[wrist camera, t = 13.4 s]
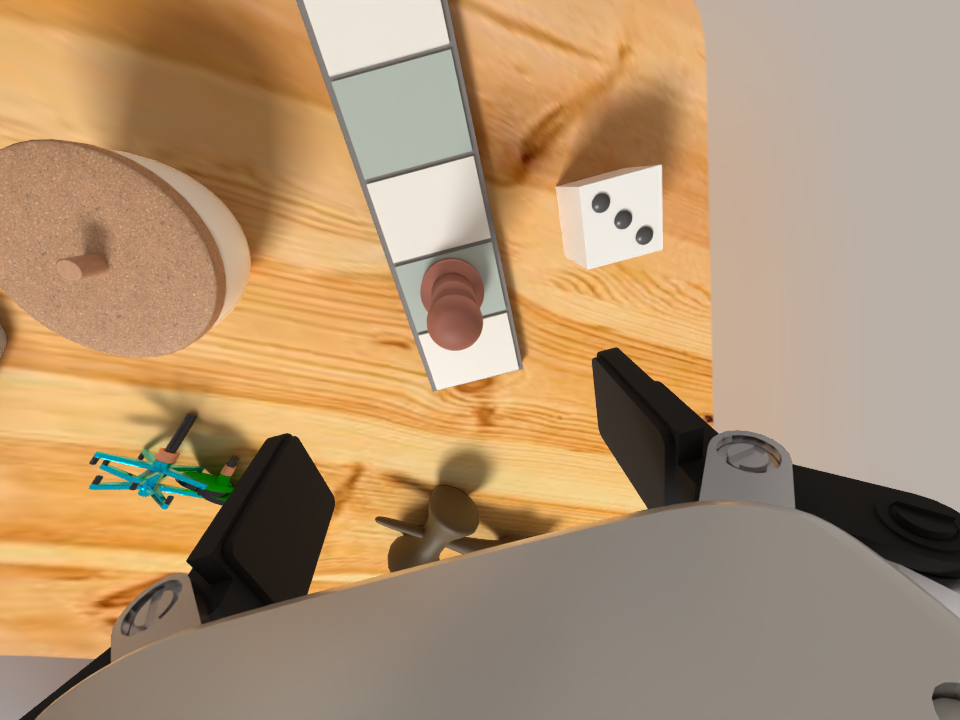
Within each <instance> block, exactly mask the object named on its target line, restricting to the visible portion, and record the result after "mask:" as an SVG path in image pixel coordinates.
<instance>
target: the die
mask: <svg viewBox="0 0 960 720" xmlns="http://www.w3.org/2000/svg"><path fill="white" fill-rule="evenodd" d="M556 193H557V201H558V208H559V216H560V224H561V231H562V239H563V246H564V254H565V257H567V258H569V259H570V260H572V261H574V262H576V263H577V264H579V265H581V266H582V267H584V268H586V269H587V270H588V269H592V268H596V267H599V266H603V265H607V264H611V263H614V262H618V261H622V260H626V259H629V258H633V257H637V256H641V255H644V254H648V253H652V252H656V251H659V250H663V231H662V164H661V165H650V166H640V167H629V168H622V169H618V170H615V171H611V172H607V173H604V174H600V175H596V176H593V177H589V178H585V179H582V180H578V181H574V182H571V183H567V184H563V185H560V186H556Z"/></svg>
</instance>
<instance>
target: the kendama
mask: <svg viewBox="0 0 960 720" xmlns="http://www.w3.org/2000/svg"><path fill="white" fill-rule="evenodd" d="M375 520H376V522H377V523H379V524H381V525H383V526H386V527H389V528H391V529H394V530H397V531H400V532H403V533H406V534H407V535H404V536H400V537H398V538H397V539H396V540H395V541H394V542H393V543H392V545H391V546H390V550H389V553H388V568H389V570H390V573H393V572H396V571H400V570H404V569H408V568H412V567H416V566H420V565H424V564H428V563H431V562H435V561H439V555H440V553H441V551H442V550H443V549H444V548H445V547H446V548H449V549H452V550H454V551H456V552H459V553H461V554H467V553H471V552H474V551H478V550H482V549H486V548H490V547H494V546H498V545H502V544H506V543H510V542H514V541H516V539H515V538H513V537H512V536H507V537H505V538H504V539H502V540H485V539H477V538H470V537H466V536H468V535H471V534H473V533H474V532H475V530H476V529H477V527H478V525H479V514H478V511H477V508H476V505H475V504H474V502H473V501H472V499H471V498H470V497H469V496H468V495H467V494H465V493H464V492H463V491H461V490H459V489H457V488H455V487H451V486H447V485H442V486H437V487H436V488H435V489H434V490H433V491H432V492H431V495H430V500H429V517H428V520H427V522H426V523H425V525H424V526H423V527H421V526H417V525H414V524H410V523H406V522H403V521H399V520H395V519H391V518H387V517H376V519H375Z"/></svg>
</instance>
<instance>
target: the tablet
mask: <svg viewBox="0 0 960 720" xmlns="http://www.w3.org/2000/svg"><path fill="white" fill-rule="evenodd" d="M6 344H7V339H6V334H5V331H4V329H3V328H2V326H1V324H0V358H1V356H2V354H3V352H4V350H5V347H6Z"/></svg>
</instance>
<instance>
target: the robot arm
mask: <svg viewBox="0 0 960 720" xmlns="http://www.w3.org/2000/svg"><path fill="white" fill-rule="evenodd" d="M592 368H593V378H594V388H595V398H596V408H597V418H598V427H599V431H600V434H601V436H602V438H603V440H604V441H605V443H606V444H607V446H608V448H609V449H610V451H611V452H612V454H613V455H614V457H615V458H616V460H617V462H618V463H619V465H620V466H621V468H622V469H623V471H624V472H625V474H626V475H627V477H628V479H629V480H630V482H631V483H632V485H633V486H634V488H635V489H636V491H637V492H638V494H639V496H640V497H641V499H642V500H643V502H644V503H645V505H646V506H647V508H648V509H647V510H642V511H638V512H634V513H629V514H625V515H621V516H616V517H612V518H608V519H603V520H599V521H595V522H591V523H586V524H582V525H578V526H574V527H570V528H566V529H562V530H558V531H554V532H550V533H546V534H542V535H538V536H534V537H530V538H526V539H522V540H518V541H514V542H510V543H506V544H502V545H498V546H494V547H490V548H486V549H482V550H478V551H474V552H471V553H467V554H463V555H459V556H455V557H451V558H447V559H443V560H439V561H435V562H431V563H428V564H424V565H420V566H416V567H412V568H408V569H404V570H400V571H396V572H393V573H389V574H385V575H381V576H377V577H373V578H369V579H366V580H362V581H358V582H354V583H350V584H347V585H343V586H339V587H335V588H331V589H328V590H324V591H320V592H316V593H312V594H308V590H309V587H310V584H311V581H312V578H313V574H314V571H315V568H316V565H317V562H318V558H319V555H320V552H321V549H322V546H323V543H324V539H325V536H326V533H327V530H328V527H329V523H330V520H331V517H332V514H333V511H334V507H335V499H334V496H333V494H332V492H331V491H330V489H329V487H328V486H327V484H326V482H325V481H324V479H323V478H322V476H321V474H320V473H319V471H318V469H317V468H316V466H315V464H314V463H313V461H312V459H311V458H310V456H309V454H308V453H307V451H306V450H305V448H304V446H303V445H302V443H301V441H300V440H299V438H298V437H296V436H292V435H291V434H289V433H286V434H282V435H278V436H274V437H271V438H268V439H267V440H266V441H265V442H264V444H263V445H262V447H261V448H260V450H259V451H258V453H257V454H256V456H255V457H254V459H253V460H252V462H251V463H250V465H249V467H248V468H247V470H246V471H245V473H244V474H243V476H242V477H241V479H240V480H239V482H238V483H237V485H236V486H235V488H234V489H233V491H232V492H231V494H230V495H229V497H228V498H227V500H226V501H225V503H224V504H223V506H222V507H221V509H220V510H219V512H218V513H217V515H216V516H215V518H214V520H213V521H212V523H211V524H210V526H209V527H208V529H207V530H206V532H205V533H204V535H203V536H202V538H201V539H200V541H199V542H198V544H197V545H196V547H195V548H194V550H193V551H192V553H191V554H190V556H189V557H188V559H187V560H186V562H187V563H188V564H189V565H190V566H191V567H192V570H191V572H190V573H189V575H187V574H183V573H177V574H172V575H169V576H167V577H165V578H162V579H161V580H159V581H157V582H156V583H154V584H152V585H151V586H149V587H148V588H147V589H146V590H144V591H143V592H142V593H141V594H139V595H138V596H137V597H136V598H135V599H134V600H133V601H132V602H131V603H130V604H129V605H128V606H127V607H126V609H125V610H124V611H123V612H122V614H121V615H120V616H119V618H118V620H117V621H116V623H115V625H114V627H113V630H112V634H111V647H110V648H109V649H108V650H106V651H105V652H104V653H103V654H101V655H100V656H99V657H97V658H96V659H95V660H94V661H92V662H91V663H90V664H89V665H87V666H86V667H85V668H84V669H82V670H81V671H80V672H79V673H77V674H76V675H75V676H74V677H72V678H71V679H70V680H69V681H67V682H66V683H65V684H64V685H62V686H61V687H60V688H59V689H57V690H56V691H55V692H53V693H52V694H51V695H50V696H48V697H47V698H46V699H45V700H43V701H42V702H41V703H40V704H38V705H37V706H36V707H34V708H33V709H32V710H31V711H30V712H28V713H27V714H26V715H24V716H23V717H22V718H21V719H19V720H960V513H958V512H957V511H955V510H954V509H952V508H950V507H948V506H946V505H943V504H941V503H939V502H937V501H935V500H932V499H929V498H926V497H923V496H919V495H916V494H912V493H908V492H904V491H900V490H896V489H892V488H888V487H884V486H880V485H876V484H871V483H868V482H863V481H859V480H855V479H851V478H847V477H843V476H839V475H835V474H830V473H826V472H822V471H818V470H814V469H810V468H806V467H802V466H797V465H794V464H792V460H791V457H790V455H789V453H788V452H787V451H786V449H785V448H784V447H783V446H782V445H780V444H779V443H777V442H776V441H774V440H773V439H770V438H768V437H766V436H763V435H761V434H757V433H753V432H748V431H726V432H723V433H720V434H718V433H717V432H716V431H715V430H714V429H713V428H712V427H711V426H709V425H708V424H707V423H706V422H705V421H704V420H703V419H702V418H701V417H699V416H698V415H697V414H696V413H695V412H694V411H693V410H692V409H690V408H689V407H688V406H687V405H686V404H685V403H684V402H683V401H681V400H680V399H679V398H678V397H677V396H676V395H675V394H674V393H673V392H671V391H670V390H669V389H668V388H667V387H666V386H665V385H664V384H662V383H661V382H659V381H654V380H652V379H651V378H650V377H649V376H648V375H647V374H646V373H645V372H644V371H643V370H642V369H640V368H639V367H638V366H637V365H636V364H635V363H634V362H633V361H632V360H631V359H630V358H628V357H627V356H626V355H625V354H624V353H623V352H622V351H621V350H620V349H619V348H617V347H616V348H612V349H608V350H604V351H600V352H598V353H597V357H596V358H593V359H592ZM307 594H308V595H307Z"/></svg>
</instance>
